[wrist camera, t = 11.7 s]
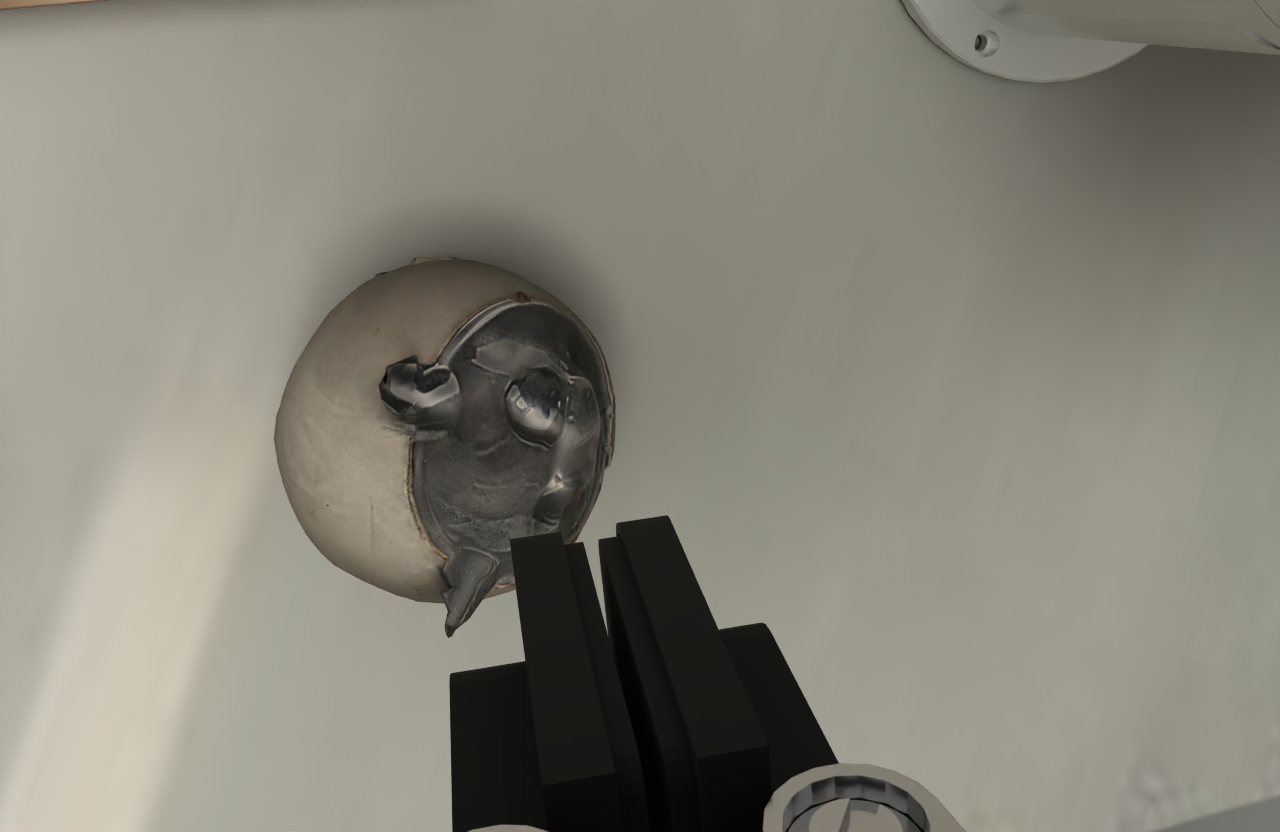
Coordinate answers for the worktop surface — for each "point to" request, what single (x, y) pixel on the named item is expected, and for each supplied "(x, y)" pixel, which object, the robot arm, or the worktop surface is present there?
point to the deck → (37, 3)
